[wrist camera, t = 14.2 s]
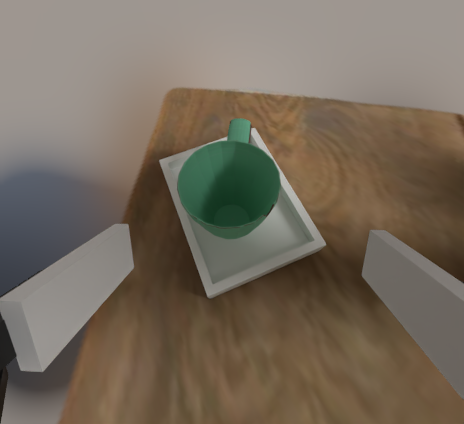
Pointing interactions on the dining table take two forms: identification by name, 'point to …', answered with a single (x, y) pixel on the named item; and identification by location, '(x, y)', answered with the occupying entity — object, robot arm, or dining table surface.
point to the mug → (229, 184)
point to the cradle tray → (252, 245)
